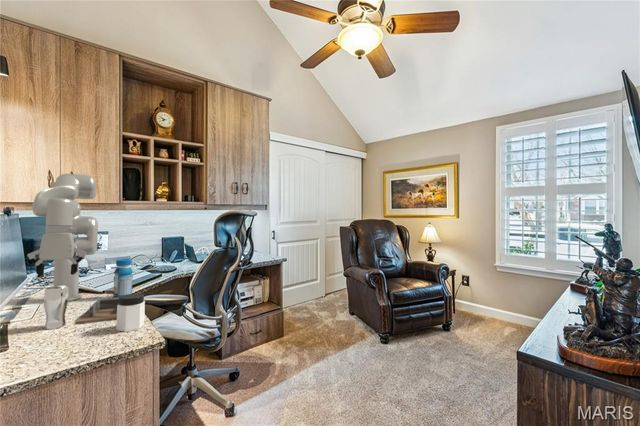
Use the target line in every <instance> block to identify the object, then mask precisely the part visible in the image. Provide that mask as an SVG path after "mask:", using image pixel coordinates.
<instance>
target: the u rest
mask: <svg viewBox="0 0 640 426" xmlns="http://www.w3.org/2000/svg"><path fill="white" fill-rule="evenodd" d="M118 301H119V299H114V298H111V299H110V298H109V299H98V300H96V301H95V302H93V304H92V305H91V306H89V308H88V309H87V310H86V312H84V313H83V314H82V315H81V316H80V317H79V318H78V319H76V321H75V322H74V323H75V325H81V324H89V323H101V322H108V321H117V305H119V302H118Z"/></svg>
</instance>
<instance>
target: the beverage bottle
mask: <svg viewBox="0 0 640 426" xmlns="http://www.w3.org/2000/svg"><path fill="white" fill-rule="evenodd" d="M132 261H133V260H132V258H119V259H116V260H115V265H116V268H115V269H114V272H113V274H114V276H113V295H112V297H113V298H112V299H119V297H120V296H123V295H127V294H133V279H134V275H133V273H134V270H133V267H132V264H133V263H132Z"/></svg>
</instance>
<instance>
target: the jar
mask: <svg viewBox="0 0 640 426" xmlns="http://www.w3.org/2000/svg"><path fill="white" fill-rule="evenodd" d="M118 302H119V305H117V320H116V326H115V327H116V329H115V330H116V331H118V332H131V331H136V330H140V329H141V328H143V326H145V313H146V312H145V311H146V310H145V309H146V308H145V307H146V306H145V305H146V301H145V294H143V293H132V294H127V295H123V296H120V297H119V301H118Z"/></svg>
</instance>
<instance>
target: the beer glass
mask: <svg viewBox="0 0 640 426" xmlns="http://www.w3.org/2000/svg"><path fill="white" fill-rule="evenodd" d="M44 289H45V290H44V295H43V307H44V313H45V323H44V328H43V329H44V330H48V331H49V330H56V329H60V328H63V327H65V326H66V325H67V322H66V310H67V307H68V304H69V302H68V298H69V292H68V286H67V285H59V286H53V285H52V286H47V287H45V288H44Z"/></svg>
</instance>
